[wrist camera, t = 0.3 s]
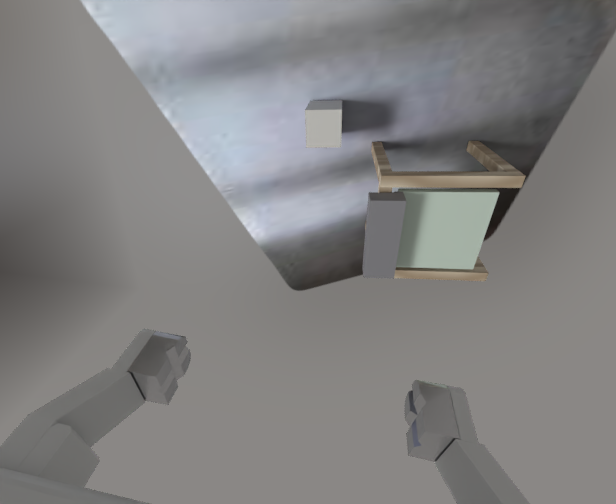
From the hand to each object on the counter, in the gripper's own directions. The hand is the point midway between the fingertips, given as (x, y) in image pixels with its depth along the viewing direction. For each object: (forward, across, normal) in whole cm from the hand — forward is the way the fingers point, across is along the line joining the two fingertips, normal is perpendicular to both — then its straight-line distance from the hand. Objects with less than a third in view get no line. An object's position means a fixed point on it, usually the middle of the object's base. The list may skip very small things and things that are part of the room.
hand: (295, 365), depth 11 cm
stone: (+46, +4, +3) cm, 46 cm away
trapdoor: (+32, -12, +12) cm, 36 cm away
